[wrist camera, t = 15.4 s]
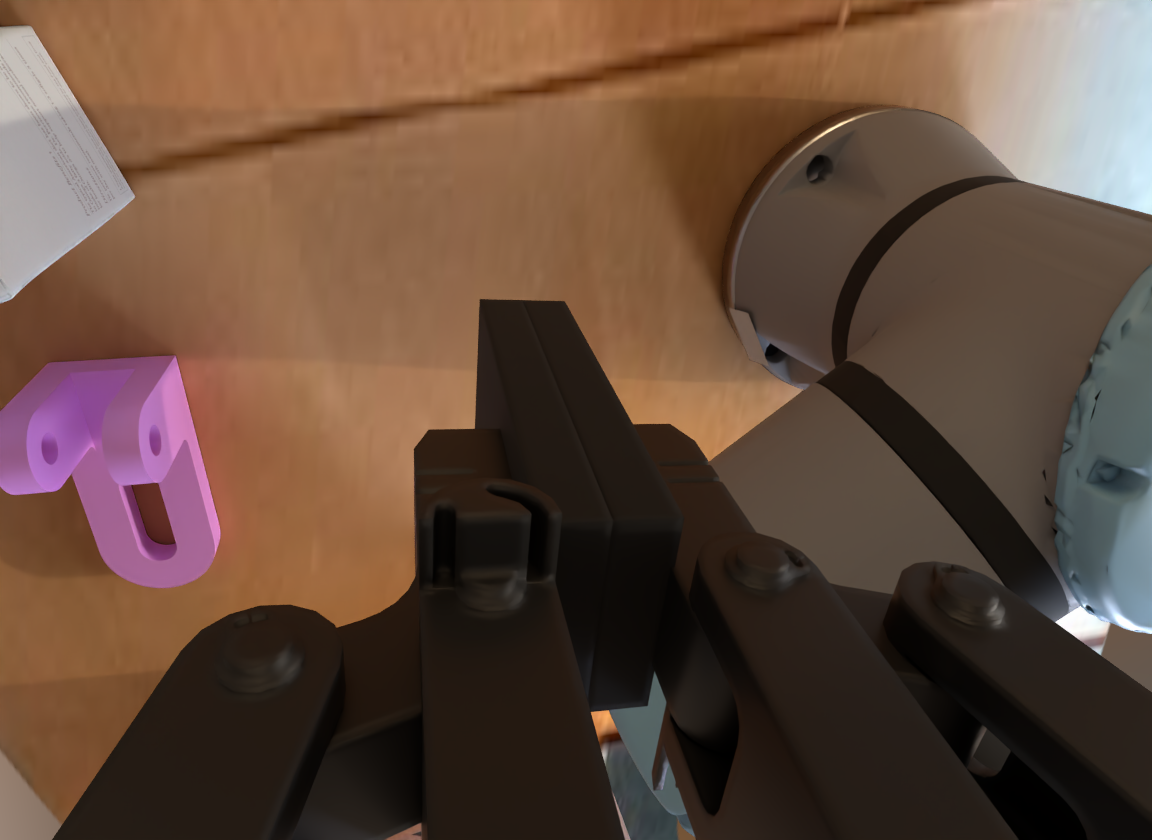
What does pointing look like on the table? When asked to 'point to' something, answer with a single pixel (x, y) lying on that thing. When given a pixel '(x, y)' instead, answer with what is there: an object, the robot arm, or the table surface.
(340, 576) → the table surface
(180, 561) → the bracket
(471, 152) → the table surface
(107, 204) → the white packaging box
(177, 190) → the table surface
